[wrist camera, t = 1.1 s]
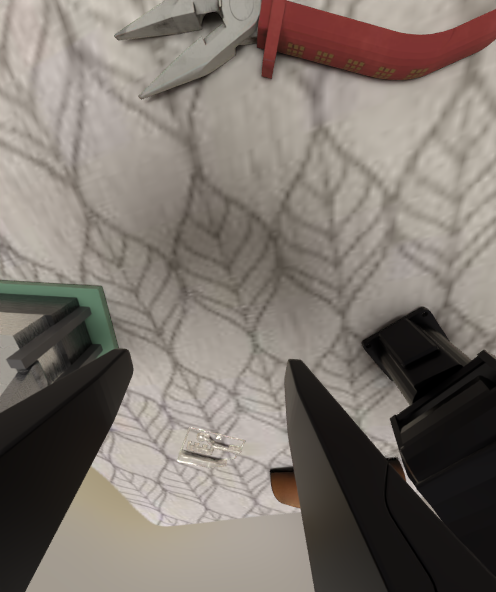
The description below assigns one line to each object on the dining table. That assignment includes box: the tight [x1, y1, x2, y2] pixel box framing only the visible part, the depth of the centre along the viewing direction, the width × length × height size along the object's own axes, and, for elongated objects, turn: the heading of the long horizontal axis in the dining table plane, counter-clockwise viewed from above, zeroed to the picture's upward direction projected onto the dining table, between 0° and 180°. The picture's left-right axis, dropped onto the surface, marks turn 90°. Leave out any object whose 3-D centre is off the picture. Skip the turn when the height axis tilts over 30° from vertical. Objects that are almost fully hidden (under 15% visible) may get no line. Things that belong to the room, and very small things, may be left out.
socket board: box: [0, 280, 118, 383], centre depth 19 cm, size 13×9×8 cm
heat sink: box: [0, 293, 92, 396], centre depth 20 cm, size 8×7×6 cm
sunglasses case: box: [270, 459, 406, 508], centre depth 33 cm, size 18×7×7 cm, turn 104°
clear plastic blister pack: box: [177, 427, 246, 468], centre depth 32 cm, size 8×7×2 cm
